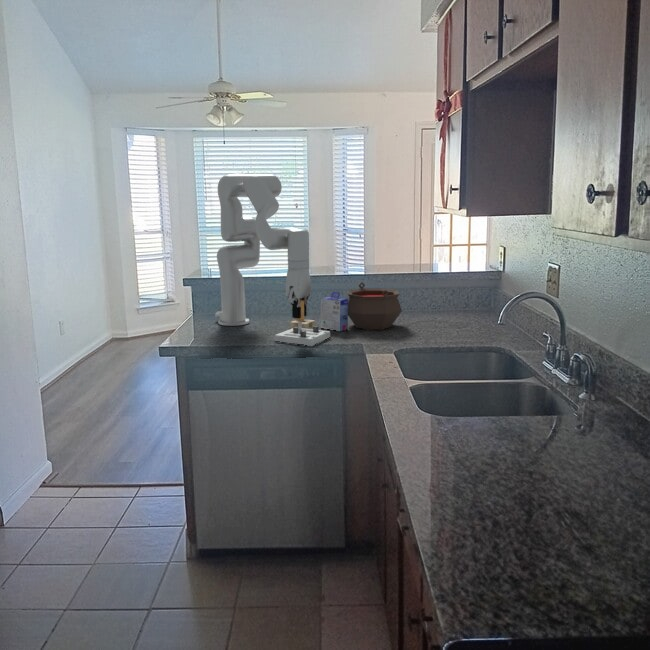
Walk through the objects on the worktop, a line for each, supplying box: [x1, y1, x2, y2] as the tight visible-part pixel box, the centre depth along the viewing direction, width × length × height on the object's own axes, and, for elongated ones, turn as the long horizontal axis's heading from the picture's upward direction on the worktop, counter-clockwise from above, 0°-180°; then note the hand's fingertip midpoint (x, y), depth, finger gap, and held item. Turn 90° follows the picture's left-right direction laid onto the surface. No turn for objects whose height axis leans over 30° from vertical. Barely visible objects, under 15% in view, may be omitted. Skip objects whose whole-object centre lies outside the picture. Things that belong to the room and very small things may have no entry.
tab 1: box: [290, 327, 298, 333], centre depth 239 cm, size 4×2×3 cm, turn 62°
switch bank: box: [274, 328, 331, 347], centre depth 238 cm, size 15×14×3 cm
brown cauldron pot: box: [346, 281, 403, 330], centre depth 259 cm, size 24×24×16 cm
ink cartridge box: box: [319, 291, 349, 332], centre depth 254 cm, size 10×6×14 cm, turn 53°
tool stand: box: [289, 318, 316, 330], centre depth 251 cm, size 7×7×4 cm
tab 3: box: [310, 325, 321, 333], centre depth 240 cm, size 4×2×3 cm, turn 62°
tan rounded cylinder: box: [294, 300, 305, 334], centre depth 231 cm, size 3×3×12 cm
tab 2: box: [297, 331, 309, 338], centre depth 232 cm, size 4×2×3 cm, turn 62°
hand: (299, 316), depth 231 cm, fingers closed on tan rounded cylinder, 3 cm apart
